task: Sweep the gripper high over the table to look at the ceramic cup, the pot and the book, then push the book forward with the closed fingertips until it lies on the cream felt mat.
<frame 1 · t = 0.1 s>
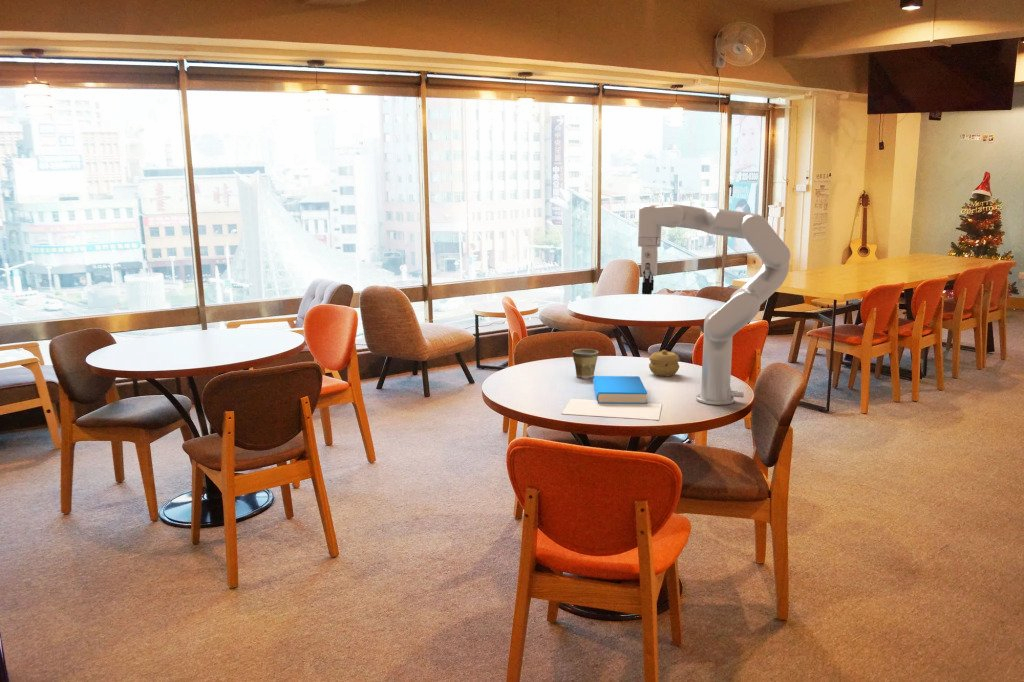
hand: (647, 292, 273), 37 cm above the table, tool pointing down, fingers open, 9 cm apart
book: (618, 395, 282), on the table, touching mat
ceramic cup: (584, 376, 311), on the table
pot: (663, 375, 312), on the table
mat: (612, 409, 263), on the table
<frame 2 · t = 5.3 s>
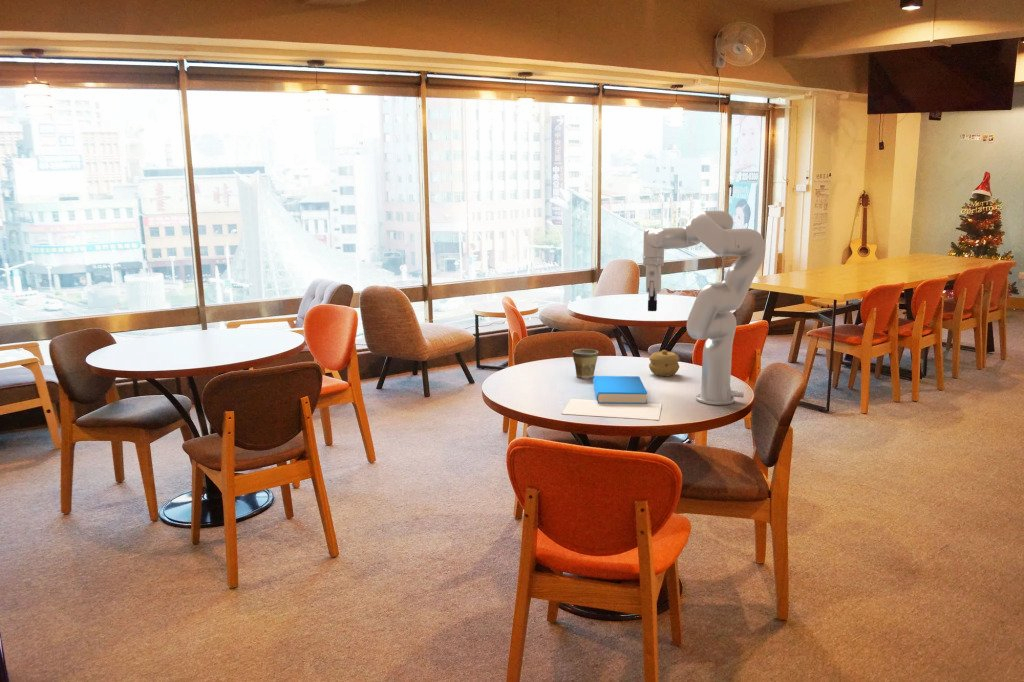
hand: (652, 310, 298), 27 cm above the table, tool pointing down, fingers closed
nothing on the table moved.
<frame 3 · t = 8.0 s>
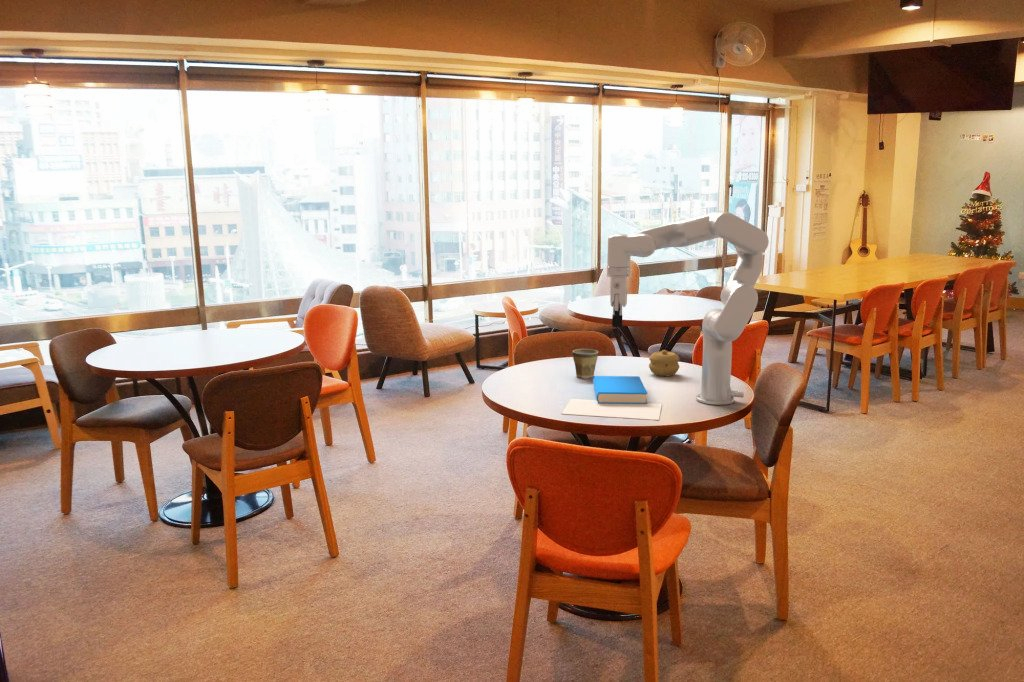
hand: (617, 326, 267), 26 cm above the table, tool pointing down, fingers closed
nothing on the table moved.
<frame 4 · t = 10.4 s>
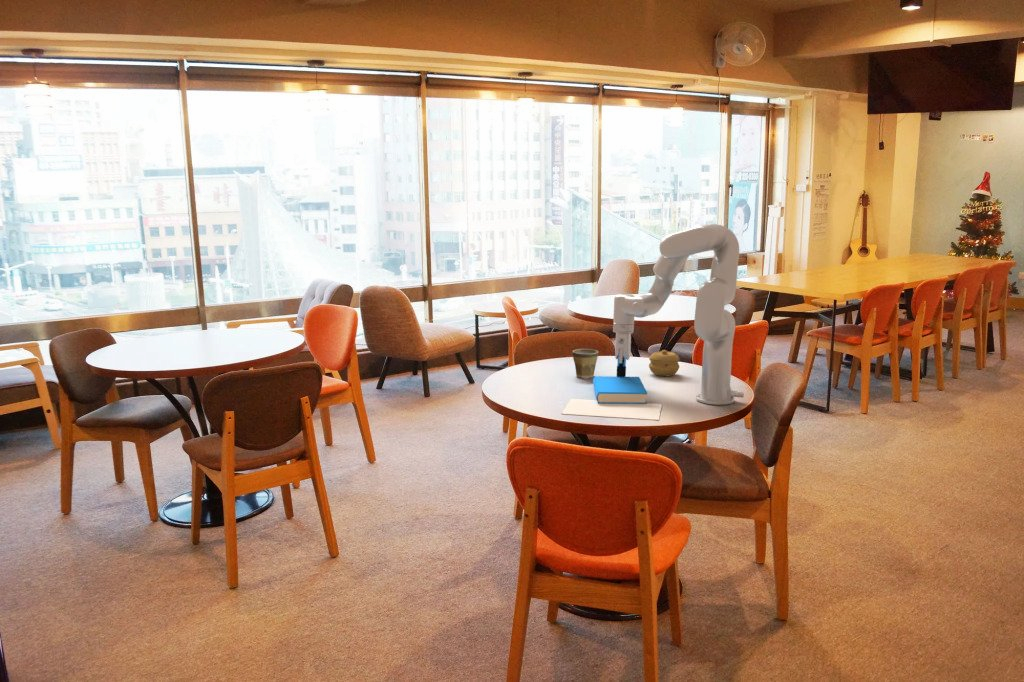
hand: (621, 376, 294), 3 cm above the table, tool pointing down, fingers closed
book: (618, 395, 282), on the table, touching gripper, mat
everything else where it was.
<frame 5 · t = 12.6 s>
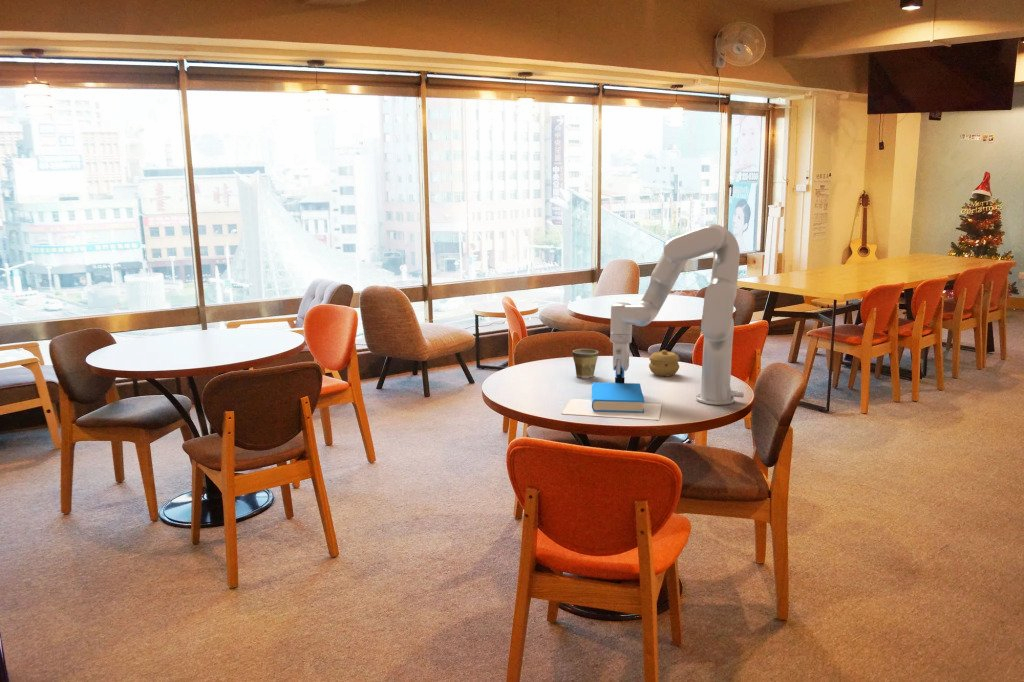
hand: (619, 388, 285), 2 cm above the table, tool pointing down, fingers closed
book: (616, 402, 271), on the table, touching mat
everything else where it was.
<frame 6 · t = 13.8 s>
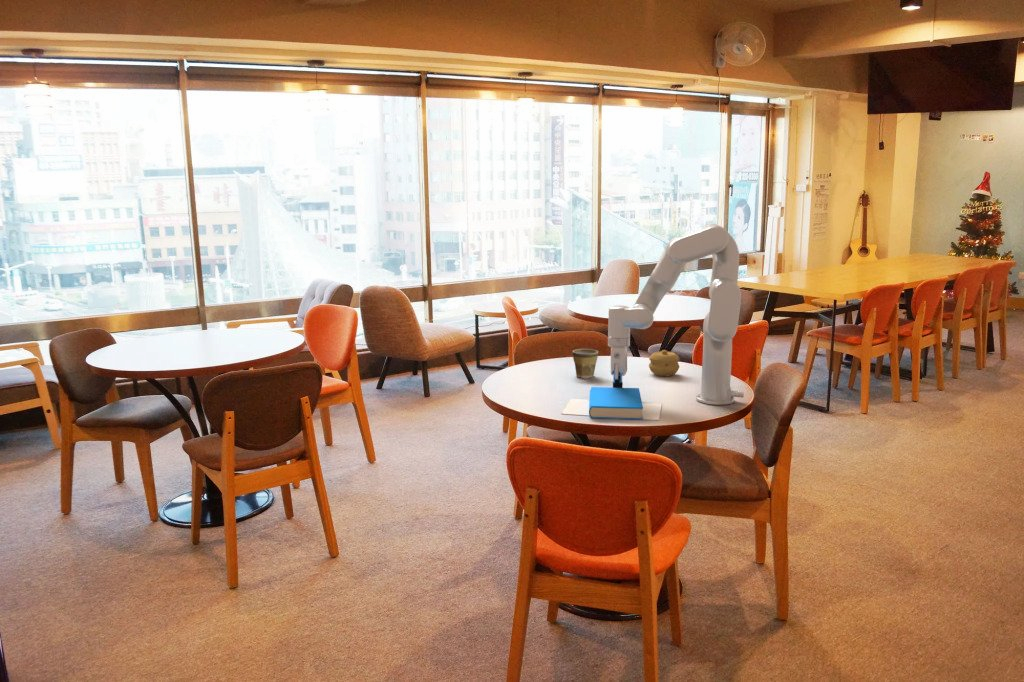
hand: (617, 393, 278), 2 cm above the table, tool pointing down, fingers closed
book: (614, 408, 264), resting on mat, touching gripper
everything else where it was.
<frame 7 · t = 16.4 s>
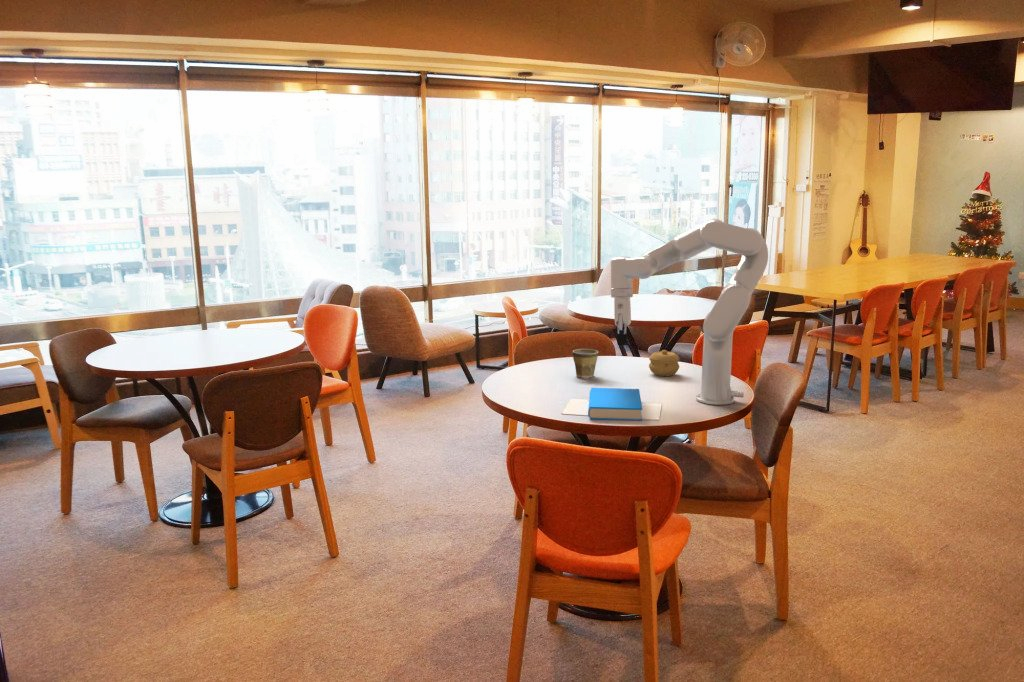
hand: (622, 344, 280), 18 cm above the table, tool pointing down, fingers closed
book: (614, 409, 263), resting on mat
everything else where it was.
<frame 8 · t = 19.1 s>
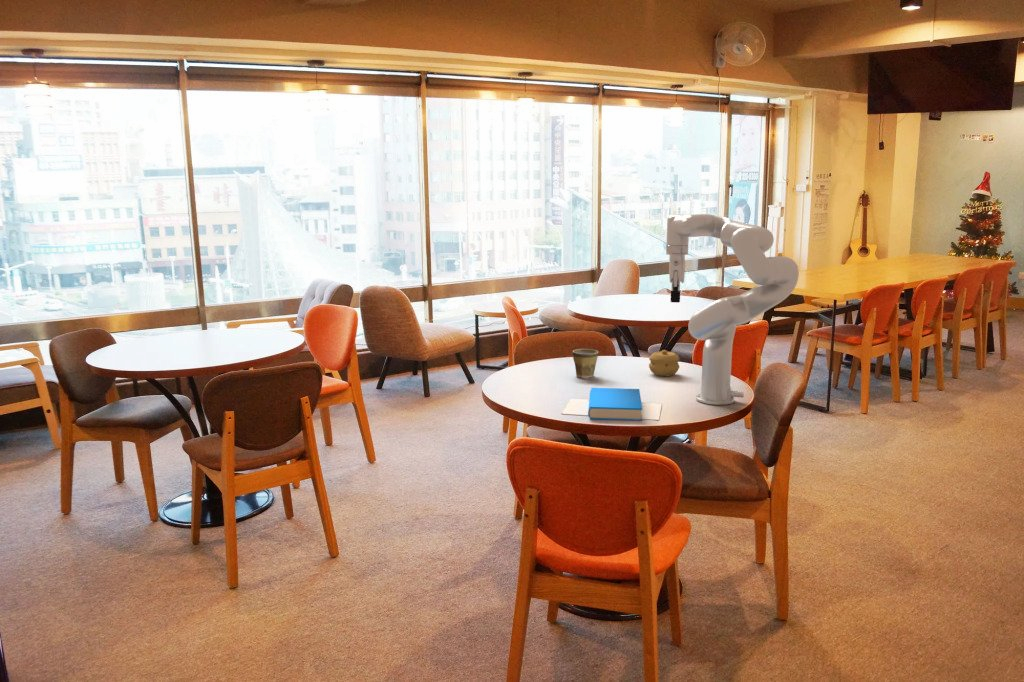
hand: (675, 301, 283), 32 cm above the table, tool pointing down, fingers closed
nothing on the table moved.
at the end: book inside the target area on the mat (1.0 cm from its centre), point 0.0 cm above the mat's base; book moved 19.1 cm from its start; book tilted 0° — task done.
